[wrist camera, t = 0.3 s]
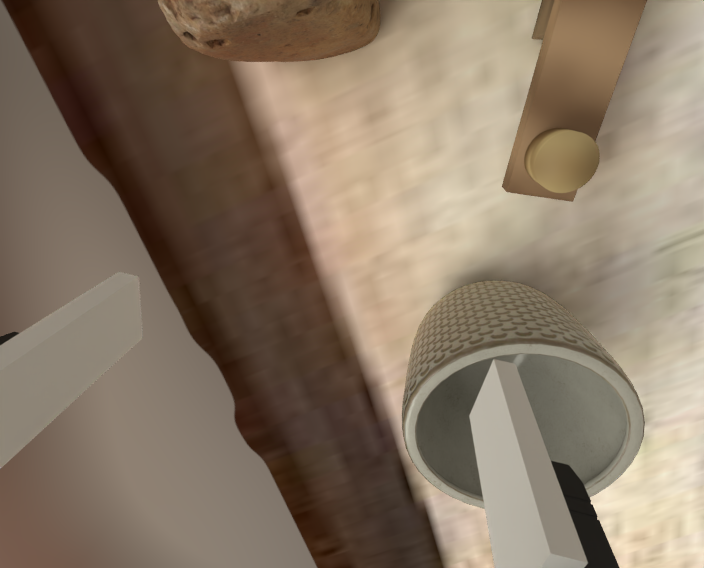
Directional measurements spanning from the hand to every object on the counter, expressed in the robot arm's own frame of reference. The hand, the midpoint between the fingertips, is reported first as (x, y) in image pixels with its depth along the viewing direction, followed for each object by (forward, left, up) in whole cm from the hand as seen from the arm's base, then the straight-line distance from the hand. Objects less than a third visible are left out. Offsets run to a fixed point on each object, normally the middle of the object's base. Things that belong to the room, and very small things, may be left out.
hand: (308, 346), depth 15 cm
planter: (+13, +14, -28) cm, 34 cm away
